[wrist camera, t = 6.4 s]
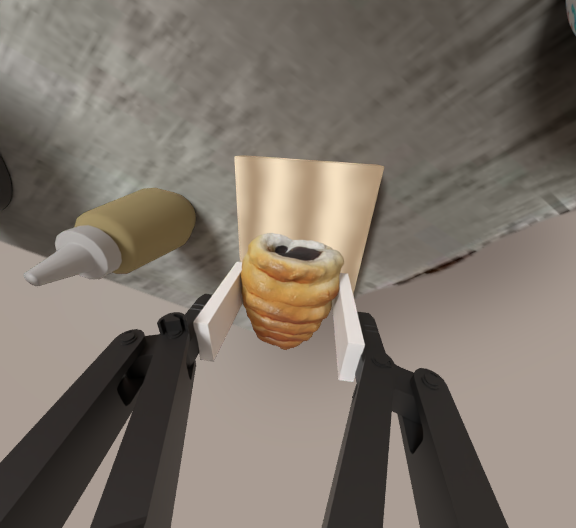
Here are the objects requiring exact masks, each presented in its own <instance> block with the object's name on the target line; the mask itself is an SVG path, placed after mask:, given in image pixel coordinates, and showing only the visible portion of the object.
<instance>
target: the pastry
mask: <svg viewBox="0 0 576 528" xmlns="http://www.w3.org/2000/svg"><path fill="white" fill-rule="evenodd" d="M343 265H344V258H343V256H342V255H341V253H340V252H339V251H337V250H333V249H332V248H331V247H329V246H327V245H325V244H323V243H319V242H316V241H312V240H309V241H307V240H292V239H290V238H288V237H286V236H284V235H281V234H274V233H267V234H263V235H259V236H258V237H256V238H255V239H254V240H252V241H251V243H250V244H249V245H248V251H247V253H246V255H245V257H244V259H243V261H242V271H241V283H242V289H241V293H242V298H243V305H244V307H245V308H246V312H247V316H248V317H249V319H250V321H251V324H252V326H253V330H254V331H255V333H256V335H257V337H258V338H259V339H260V340H262V341H264V342H267V343H269V344H272V345H276V346H278V347H280V348H281V349H284V350H287V349H290V348H294V347H296V346H298V345H300V344H301V343H302V342H303V341H307V340H308V339H309V338H310V337H312V335H313V332H315V331H317V330H318V328H319V327H320V324H321V322H322V320H323V319H325V318H327V316H328V314H329V312H330V310H331V307H332V300H333V299H334V298H335V297H336V296H337V294H338V292H339V276H340V271H341V268H342V266H343Z"/></svg>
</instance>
